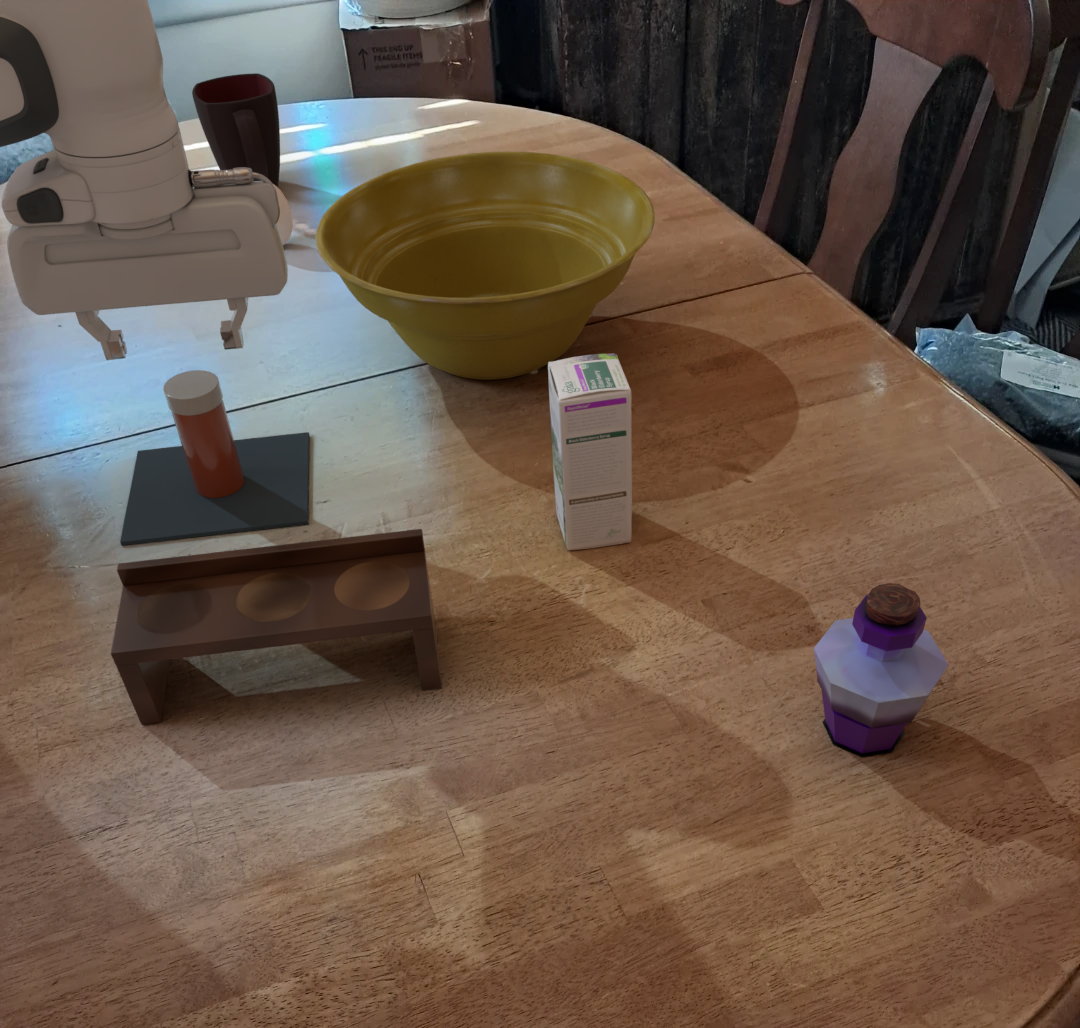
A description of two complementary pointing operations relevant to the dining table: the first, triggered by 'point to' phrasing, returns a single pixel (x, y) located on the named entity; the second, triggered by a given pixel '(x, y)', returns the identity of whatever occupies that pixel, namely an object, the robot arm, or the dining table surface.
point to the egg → (284, 217)
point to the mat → (261, 503)
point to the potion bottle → (877, 671)
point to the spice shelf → (270, 605)
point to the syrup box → (591, 450)
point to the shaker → (204, 432)
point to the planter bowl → (487, 254)
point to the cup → (241, 122)
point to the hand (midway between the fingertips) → (176, 351)
